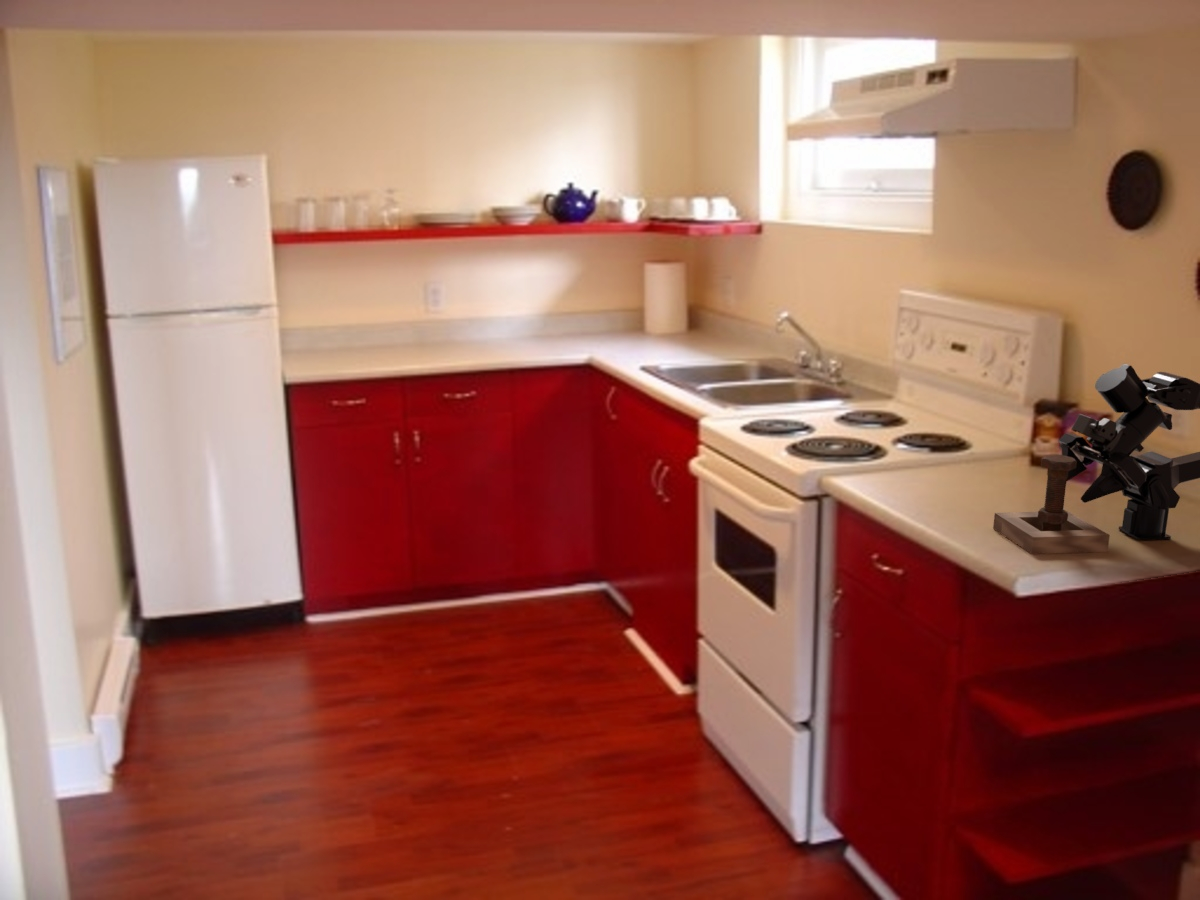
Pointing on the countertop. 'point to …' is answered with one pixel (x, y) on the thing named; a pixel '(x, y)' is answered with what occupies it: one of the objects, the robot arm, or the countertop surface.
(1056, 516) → the bolt
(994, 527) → the jig
